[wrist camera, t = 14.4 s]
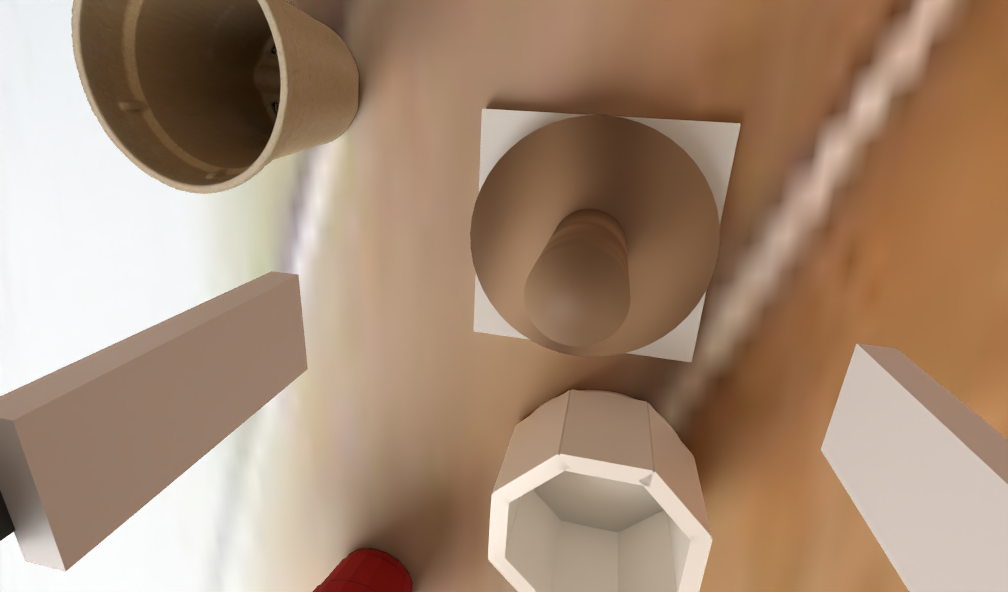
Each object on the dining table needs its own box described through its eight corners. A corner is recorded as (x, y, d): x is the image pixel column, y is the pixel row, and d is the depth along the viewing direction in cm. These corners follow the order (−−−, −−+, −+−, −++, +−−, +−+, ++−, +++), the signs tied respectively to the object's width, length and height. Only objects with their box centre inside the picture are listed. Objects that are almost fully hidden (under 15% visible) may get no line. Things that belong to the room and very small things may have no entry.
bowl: (509, 515, 33) (485, 601, 27) (520, 377, 30) (494, 441, 24) (671, 549, 31) (684, 650, 25) (703, 406, 28) (726, 483, 22)
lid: (472, 331, 29) (410, 418, 20) (481, 108, 24) (409, 99, 16) (690, 362, 26) (725, 475, 18) (739, 123, 22) (815, 122, 14)
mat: (476, 327, 29) (473, 331, 29) (485, 108, 25) (482, 108, 24) (690, 357, 27) (691, 362, 26) (737, 123, 23) (740, 123, 22)
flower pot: (212, 121, 29) (54, 120, 21) (257, -54, 25) (86, -138, 17) (352, 204, 28) (247, 236, 20) (417, 40, 25) (321, 0, 17)
